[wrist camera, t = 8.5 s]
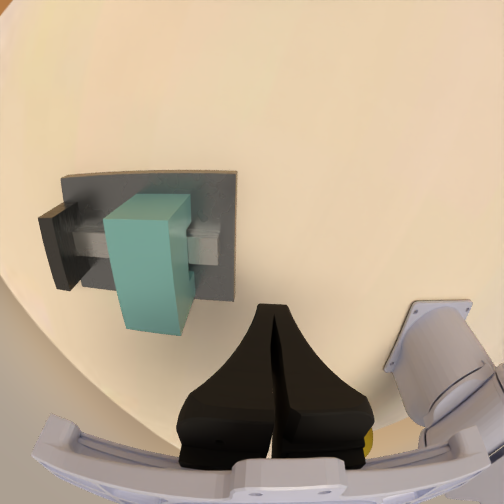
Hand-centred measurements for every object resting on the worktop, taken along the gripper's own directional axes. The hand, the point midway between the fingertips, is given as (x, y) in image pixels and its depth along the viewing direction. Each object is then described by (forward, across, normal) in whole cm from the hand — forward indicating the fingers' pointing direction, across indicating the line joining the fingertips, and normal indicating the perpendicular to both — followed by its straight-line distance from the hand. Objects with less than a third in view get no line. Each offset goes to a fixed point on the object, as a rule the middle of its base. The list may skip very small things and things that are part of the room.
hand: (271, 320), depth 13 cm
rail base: (+9, +10, 0) cm, 13 cm away
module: (+8, +8, 0) cm, 11 cm away
